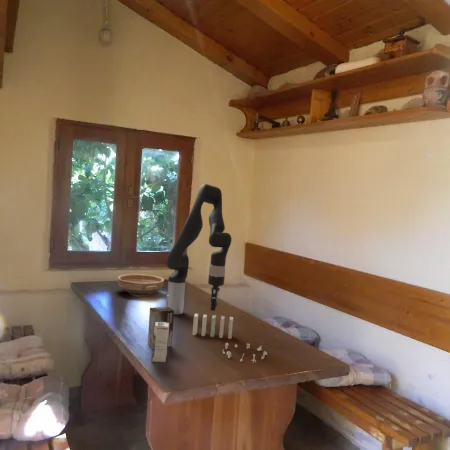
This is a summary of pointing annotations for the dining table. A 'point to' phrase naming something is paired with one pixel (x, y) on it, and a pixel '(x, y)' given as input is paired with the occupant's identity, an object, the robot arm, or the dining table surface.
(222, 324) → the domino
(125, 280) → the ceramic bowl
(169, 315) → the coffee box
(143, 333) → the dining table surface
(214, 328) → the domino
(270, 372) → the dining table surface
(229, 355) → the game piece set
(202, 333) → the domino
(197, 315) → the domino
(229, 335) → the domino
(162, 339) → the syrup box
